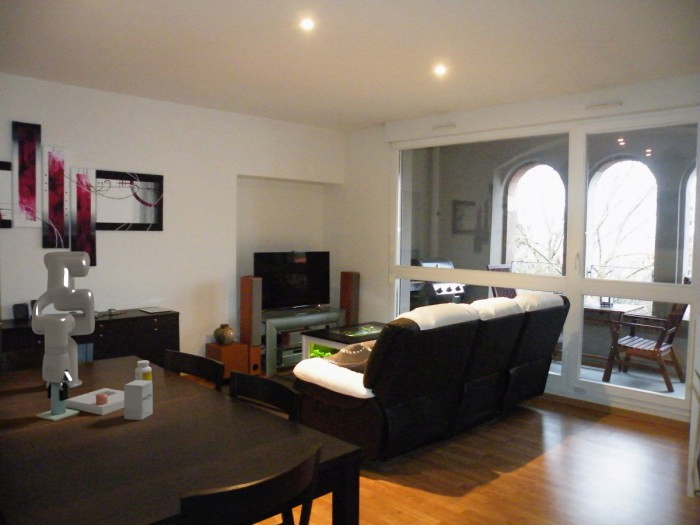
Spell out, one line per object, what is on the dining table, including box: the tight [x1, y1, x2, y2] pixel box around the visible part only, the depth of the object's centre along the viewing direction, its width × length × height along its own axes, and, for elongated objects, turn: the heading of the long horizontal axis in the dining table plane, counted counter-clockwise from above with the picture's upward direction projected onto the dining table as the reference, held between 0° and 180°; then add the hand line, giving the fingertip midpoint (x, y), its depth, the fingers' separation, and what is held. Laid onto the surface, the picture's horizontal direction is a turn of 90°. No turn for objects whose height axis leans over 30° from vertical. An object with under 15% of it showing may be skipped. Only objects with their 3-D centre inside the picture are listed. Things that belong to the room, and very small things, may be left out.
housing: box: [66, 387, 124, 416], centre depth 214 cm, size 20×18×3 cm
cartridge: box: [50, 380, 67, 415], centre depth 201 cm, size 6×6×12 cm
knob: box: [96, 393, 108, 404], centre depth 206 cm, size 4×4×6 cm
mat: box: [36, 407, 80, 422], centre depth 202 cm, size 10×10×1 cm
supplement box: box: [123, 379, 154, 421], centre depth 200 cm, size 7×7×13 cm
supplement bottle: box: [134, 359, 153, 382], centre depth 231 cm, size 7×7×13 cm
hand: (57, 398), depth 201 cm, fingers open, 5 cm apart
